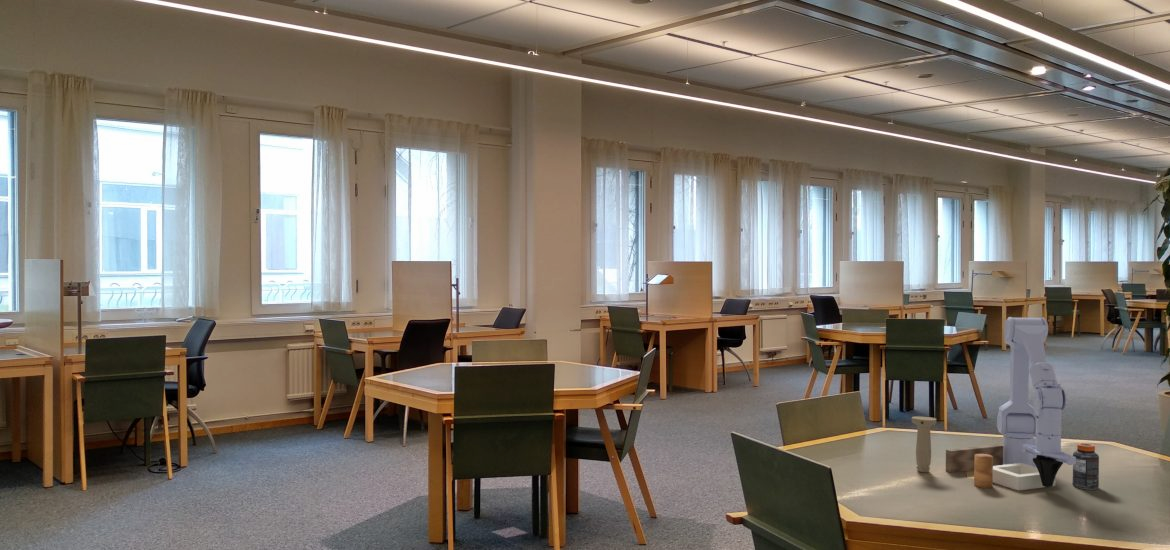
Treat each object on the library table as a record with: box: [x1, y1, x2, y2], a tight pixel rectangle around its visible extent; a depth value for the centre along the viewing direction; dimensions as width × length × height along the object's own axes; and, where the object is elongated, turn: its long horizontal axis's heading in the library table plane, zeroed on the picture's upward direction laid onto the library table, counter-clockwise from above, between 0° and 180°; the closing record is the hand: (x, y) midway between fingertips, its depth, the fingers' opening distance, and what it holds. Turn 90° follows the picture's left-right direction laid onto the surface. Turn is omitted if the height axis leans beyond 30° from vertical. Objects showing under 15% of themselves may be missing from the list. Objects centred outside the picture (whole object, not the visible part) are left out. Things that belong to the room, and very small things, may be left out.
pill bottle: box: [1072, 442, 1100, 491], centre depth 224 cm, size 6×6×11 cm
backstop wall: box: [945, 444, 1003, 473], centre depth 243 cm, size 19×2×6 cm, turn 110°
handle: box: [911, 415, 937, 474], centre depth 240 cm, size 5×6×15 cm
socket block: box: [993, 463, 1057, 491], centre depth 229 cm, size 13×11×4 cm
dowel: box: [973, 454, 994, 489], centre depth 225 cm, size 4×4×8 cm
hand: (1047, 486), depth 220 cm, fingers closed
